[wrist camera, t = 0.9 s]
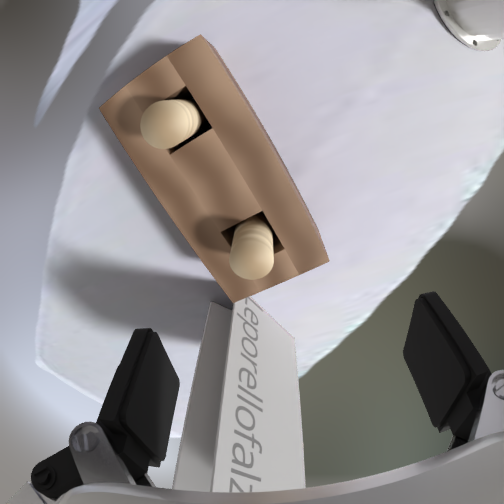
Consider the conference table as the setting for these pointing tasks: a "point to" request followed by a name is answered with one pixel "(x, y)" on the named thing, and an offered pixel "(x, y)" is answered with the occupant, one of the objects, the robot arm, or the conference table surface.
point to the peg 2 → (252, 248)
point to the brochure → (242, 407)
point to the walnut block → (217, 168)
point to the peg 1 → (171, 122)
